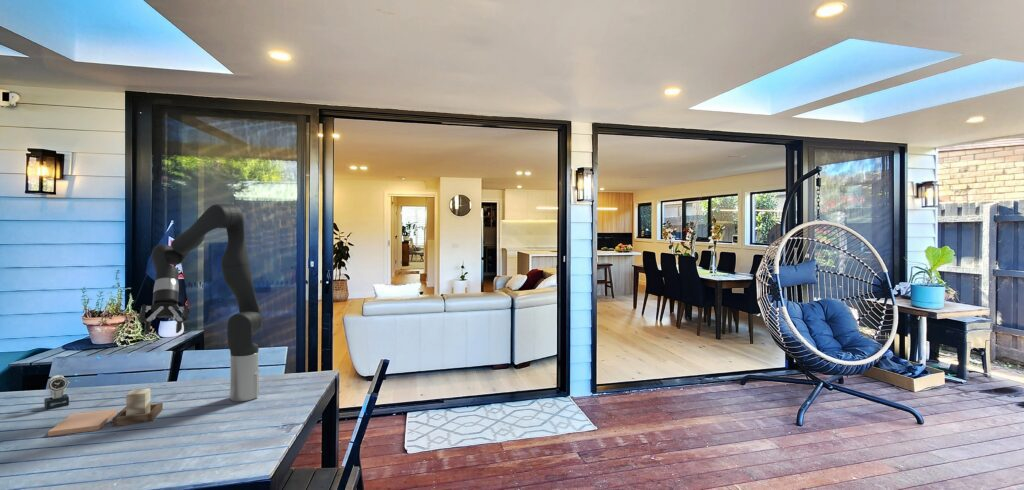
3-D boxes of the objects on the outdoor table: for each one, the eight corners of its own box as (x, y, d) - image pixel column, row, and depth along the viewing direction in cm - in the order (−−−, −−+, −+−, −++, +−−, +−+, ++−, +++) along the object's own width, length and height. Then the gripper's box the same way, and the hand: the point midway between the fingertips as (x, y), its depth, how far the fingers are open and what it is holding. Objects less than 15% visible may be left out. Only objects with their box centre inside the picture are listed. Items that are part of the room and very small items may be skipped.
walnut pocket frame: (162, 409, 155) (162, 402, 155) (152, 421, 145) (152, 413, 145) (125, 413, 151) (125, 406, 151) (112, 426, 141) (112, 418, 141)
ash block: (150, 413, 151) (150, 388, 151) (145, 419, 147) (145, 393, 147) (132, 415, 149) (132, 390, 149) (126, 421, 145) (126, 395, 145)
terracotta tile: (117, 413, 151) (117, 408, 151) (98, 429, 138) (98, 425, 138) (71, 418, 146) (71, 414, 146) (48, 436, 134) (48, 431, 134)
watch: (47, 411, 151) (47, 380, 151) (43, 406, 156) (43, 375, 156) (70, 406, 156) (70, 376, 156) (65, 401, 161) (65, 371, 160)
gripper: (144, 286, 159) (140, 328, 152) (191, 289, 169) (189, 328, 162) (140, 295, 163) (136, 336, 156) (186, 297, 173) (184, 335, 167)
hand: (163, 332), depth 159 cm, fingers open, 8 cm apart
